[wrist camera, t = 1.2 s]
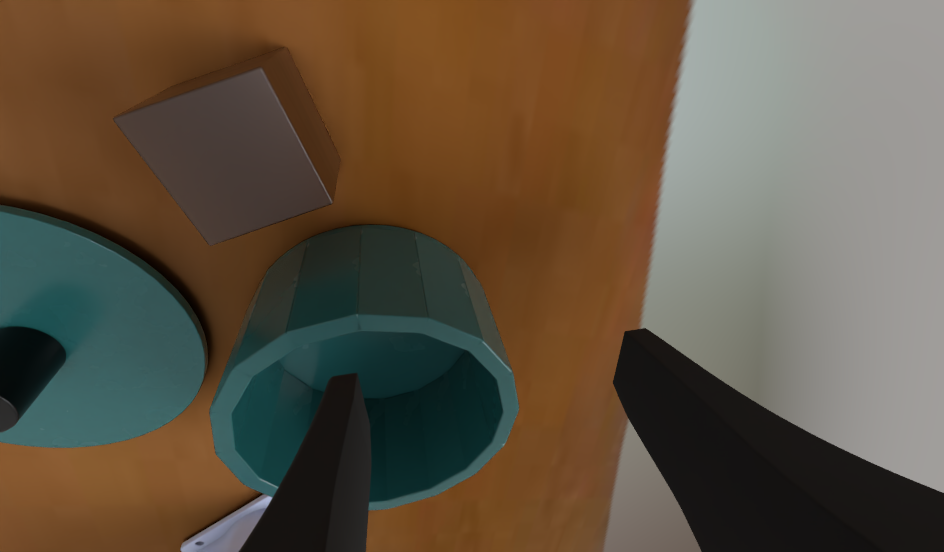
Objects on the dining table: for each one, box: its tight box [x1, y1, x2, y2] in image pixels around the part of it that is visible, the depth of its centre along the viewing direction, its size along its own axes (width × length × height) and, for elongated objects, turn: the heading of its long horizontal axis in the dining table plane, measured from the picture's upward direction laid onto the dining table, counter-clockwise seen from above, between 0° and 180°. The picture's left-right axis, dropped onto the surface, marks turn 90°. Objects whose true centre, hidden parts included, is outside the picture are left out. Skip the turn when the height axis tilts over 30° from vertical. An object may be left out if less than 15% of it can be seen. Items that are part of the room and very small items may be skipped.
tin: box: [209, 225, 519, 510], centre depth 20 cm, size 11×11×6 cm
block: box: [113, 47, 340, 246], centre depth 14 cm, size 4×4×4 cm
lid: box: [0, 205, 208, 448], centre depth 17 cm, size 13×13×4 cm
